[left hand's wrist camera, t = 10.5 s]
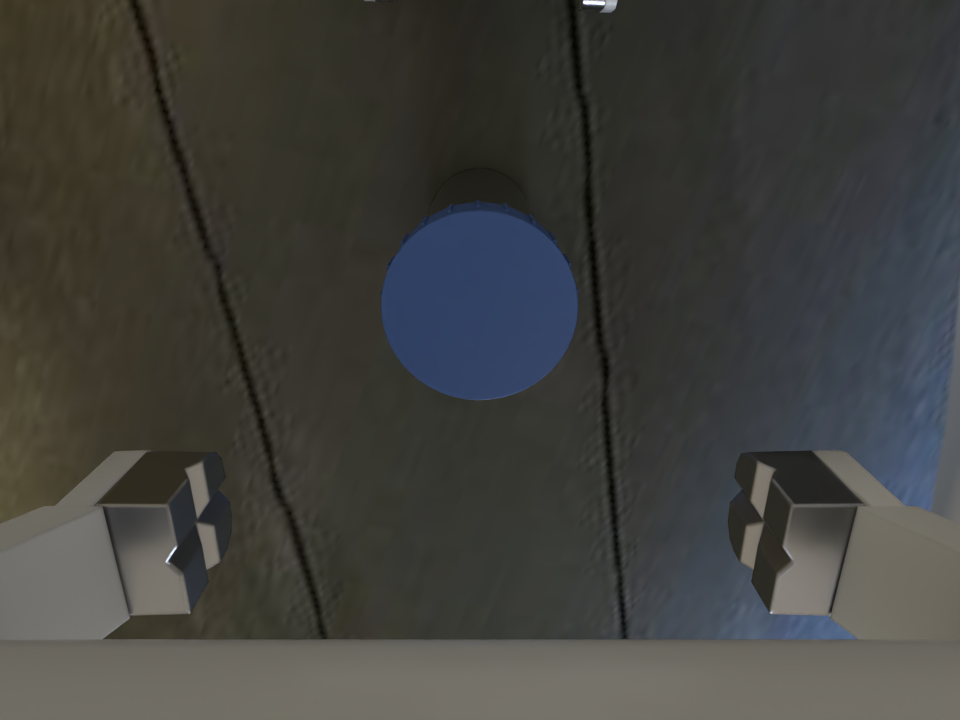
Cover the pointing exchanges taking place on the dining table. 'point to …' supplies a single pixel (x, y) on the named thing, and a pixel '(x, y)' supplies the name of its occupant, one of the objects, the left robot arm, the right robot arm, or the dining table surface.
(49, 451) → the dining table surface
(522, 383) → the lid
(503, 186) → the dark grey bottle
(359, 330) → the dining table surface
